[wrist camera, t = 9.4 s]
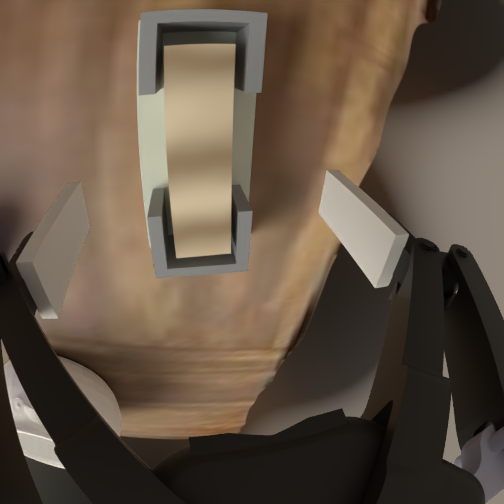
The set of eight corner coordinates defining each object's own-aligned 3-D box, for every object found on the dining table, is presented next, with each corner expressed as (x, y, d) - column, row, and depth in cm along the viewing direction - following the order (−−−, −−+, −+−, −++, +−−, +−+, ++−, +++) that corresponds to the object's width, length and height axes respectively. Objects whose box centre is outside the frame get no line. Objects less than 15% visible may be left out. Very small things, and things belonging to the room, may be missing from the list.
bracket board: (140, 22, 19) (126, 8, 14) (258, 21, 22) (282, 9, 16) (150, 241, 33) (146, 282, 27) (244, 235, 35) (258, 274, 30)
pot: (113, 421, 58) (114, 480, 45) (13, 394, 46) (4, 452, 33) (133, 360, 45) (134, 449, 32) (-7, 317, 34) (-35, 399, 21)
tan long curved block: (168, 51, 21) (164, 45, 16) (224, 49, 22) (235, 44, 17) (176, 225, 31) (176, 258, 26) (222, 221, 32) (230, 253, 27)
